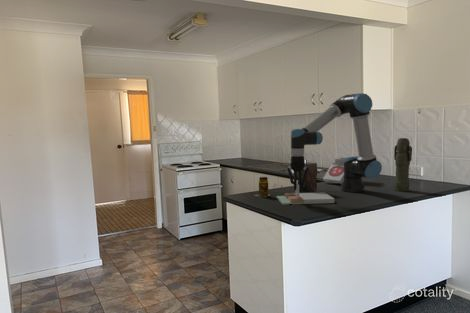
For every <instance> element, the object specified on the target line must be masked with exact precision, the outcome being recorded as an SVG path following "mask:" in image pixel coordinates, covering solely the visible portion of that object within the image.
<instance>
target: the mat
mask: <svg viewBox="0 0 470 313" xmlns="http://www.w3.org/2000/svg"><path fill="white" fill-rule="evenodd" d="M276 199H277V200H278V201H279V202H280V203H281V204H282V205H283V206H288V205H289V204H292V205H305V204H304V202H290V201H289V200H288V199H287V198H286V197H285V195H276Z"/></svg>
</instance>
